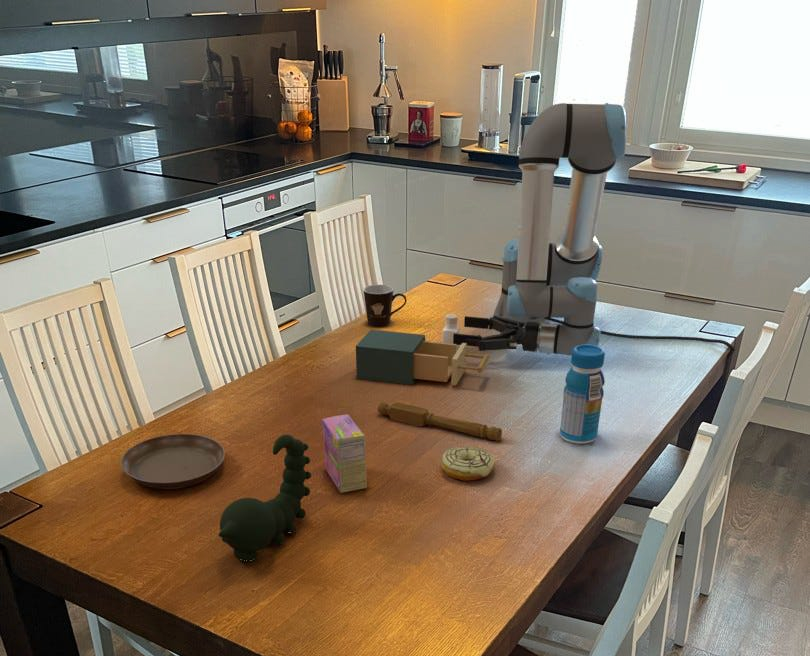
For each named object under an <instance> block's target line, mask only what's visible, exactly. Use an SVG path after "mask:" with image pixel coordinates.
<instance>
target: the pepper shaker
mask: <svg viewBox="0 0 810 656" xmlns="http://www.w3.org/2000/svg"><path fill="white" fill-rule="evenodd" d="M444 323H445V326H444V327H443V329H442V340H441V341H442V342H441V343H450V344H453V334H454V333H455V334H461V332H460V330H461V328H460V327H459V326H458V315H457V314H455V313H448V314H445V322H444ZM459 347H460V345H456V352H457V350H458V349H459Z"/></svg>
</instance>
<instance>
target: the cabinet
mask: <svg viewBox="0 0 810 656" xmlns="http://www.w3.org/2000/svg"><path fill="white" fill-rule="evenodd" d="M422 341H426V334H419V333H409V332H400V331H391V330H390V331H389V330H380V329H369V331H367V333H365V335H364V336H363V337H362V339H361V340H359V341H358V343H357V344H356V345H355V361H356V362H355V365H356V369H355V371H356V379H357V380H365V381H367V380H368V381H373V382H374V381H375V382H385V383H394V384H400V385H401V384H402V385H410V386H413V385H414V383H415V382H416V380H417V379H415V378H413V354H414V352H415V351H416V350H417V348H418V347H419V345H420V344H421V343H422Z"/></svg>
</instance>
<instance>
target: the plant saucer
mask: <svg viewBox="0 0 810 656" xmlns="http://www.w3.org/2000/svg"><path fill="white" fill-rule="evenodd" d="M225 457H226V453H225V449H224V446H223V445H221V443H219V442H218V441H217V440H216V439H213V438H210V437H208V436H205V435H201V434H200V435H199V434H193V433H171V434H165V435H159V436H155V437H152V438H148V439H145V440H143V441H140V442H138V443H136V444H135V445H133V446H131V447H130V448H128V449H127V450H126V451H125V452H124V454H123V455H122V457H121V459H120V467H121V469H122V471H123V472H124V473H125V474H126V475H127V476H128V477H129V478H130V479H132V480H133V481H134V482H136V483H138V484H141V485H142V486H145V487H149V488H151V489H152V488H153V489H157V490H177V489H184V488H188V487H192V486H195V485H197V484H199V483H202V482H204V481H205V480H207V479H209V478H210V477H212V475H214V474H215V472H217V471H218V469H220V467H221V465H222V463H223V462H224V459H225Z"/></svg>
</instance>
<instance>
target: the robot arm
mask: <svg viewBox="0 0 810 656" xmlns="http://www.w3.org/2000/svg"><path fill="white" fill-rule="evenodd" d="M626 145H627V116H626V109H625V107H624V106H622V105H621V104H616V103H609V102H605V103H602V104H601V103H566V102H562V103H555V104H552V105H549V107H547V108H545V109H544V110H543V111H541V112H540V113H539V114H538V115H537V116H536V117H535V119H534V120H532V123H531V124H530V126H529V127H528V129H527V131H526V133H525V135H524V137H523V140H522V142H521V147H520V150H519V157H518V168H519V169H520V170H521V173H522V177H521V194H520V195H521V196H520V211H519V225H518V226H519V227H518V237H516V238H513V239H511V240H509V241H508V242H507V243H506V244H505V246H504V248H503V249H504V250H503V257H502V262H503V264H502V277H501V291H500V296H499V299H498V301H497V304H496V306H495V308H494V312H493V316H492V317H489V318H488V317H479V316H466V315H465V316H464V322H463V323H464V324H463V326H464V327H463V328H473V329H482V330H488V331H492V330H493V331H496V332H498V333H497V334H491V335H487V336H482V335H480V334H478V335H475V334H463V333H459V334H455V333H454V334H453V344H456V345H459V346H461V344H462V343H467V347H475V348H478V351H480V352H487V351H499V350H500V351H501V350H517V348H518V347H517V346H518V345H521V348H522V351H524V352H532V353H536V352H537V351H538V352H539V353H544V354H547V355H548V356H549V355H551V354H554V355H562V356H570V357H571V356H572V350H573V348H574V347H575V346H578V345H595V346H599V347H600V340H601V335H605V336H610V337H615V338H623V339H624V338H625V339H634V340H635V339H636V340H673V341H675V340H677V341H696V342H703V343H711V344H714V343H715V344H721V345H724V346H726V347H727V348H728V349H729V350H730V351H733V352H735V351H736V350H735V348H734V346H733V345H732V344H731V343H729V342H728V341H726V340H723V339H716V338H715V339H714V338H705V337H699V336H698V337H696V336H679V335H678V336H676V335H674V336H673V335H637V334H635V335H634V334H624V333H617V332H610V331H606V330H601V328H599V327H596V326H595V323H594V321H595V320H594V319H595V314H596V306H597V302H598V300H597V299H598V298H597V296H598V283H597V282H596V281H597V279H598V278H599V275H600V271H601V265H602V261H603V247H602V245H601V244H600V243H599V242H598V239H597V237H596V231H597V225H598V221H599V216H600V210H601V207H602V201H603V196H604V190H605V185H606V180H607V174H608V172H610V171H611V170H612V169H613V168H614V167H615V165H616V162H617V160H620V159H621V160H622V159H624V157H625V154H626V147H627V146H626ZM561 158H562V159H567V160H568V164H569V166H570V167H571V168H572V172H571V178H570V182H569V183H570V184H569V189H568V196H567V202H566V209H565V215H564V222H563V227H562V228H563V229H562V232H561V233H560V234H559V235H558V236H557V238H556V239H555V242H550V238H551V237H550V236H551V224H552V223H551V222H552V207H553V194H554V181H555V172H556V171H557V170H558V169H559V167H560V159H561ZM559 318H560V319H563V320H560V319H559ZM547 321H550V322H547ZM552 322H553V323H552Z"/></svg>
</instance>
